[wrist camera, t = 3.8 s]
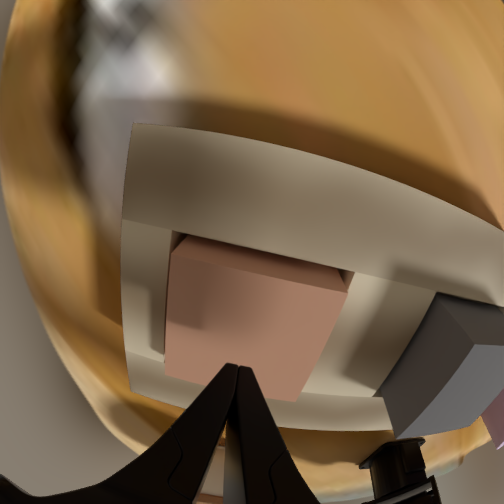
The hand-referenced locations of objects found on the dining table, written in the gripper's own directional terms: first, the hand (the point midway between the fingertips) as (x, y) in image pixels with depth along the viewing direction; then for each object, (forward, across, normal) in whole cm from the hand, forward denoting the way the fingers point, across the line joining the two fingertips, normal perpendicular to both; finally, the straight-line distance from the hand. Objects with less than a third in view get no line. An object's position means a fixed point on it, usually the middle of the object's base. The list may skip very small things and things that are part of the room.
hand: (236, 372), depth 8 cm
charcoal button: (+3, -11, 0) cm, 12 cm away
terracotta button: (+6, 0, 0) cm, 6 cm away
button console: (+7, -6, 0) cm, 9 cm away
